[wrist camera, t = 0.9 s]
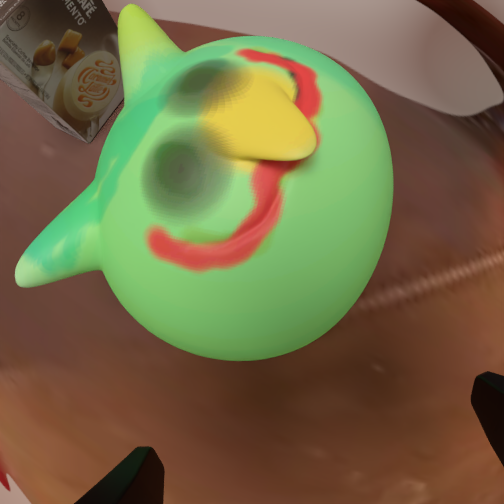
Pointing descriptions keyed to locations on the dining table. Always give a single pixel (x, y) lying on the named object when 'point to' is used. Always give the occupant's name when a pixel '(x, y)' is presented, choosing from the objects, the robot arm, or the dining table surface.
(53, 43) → the coffee box
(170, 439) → the dining table surface
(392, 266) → the dining table surface
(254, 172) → the toy bird
